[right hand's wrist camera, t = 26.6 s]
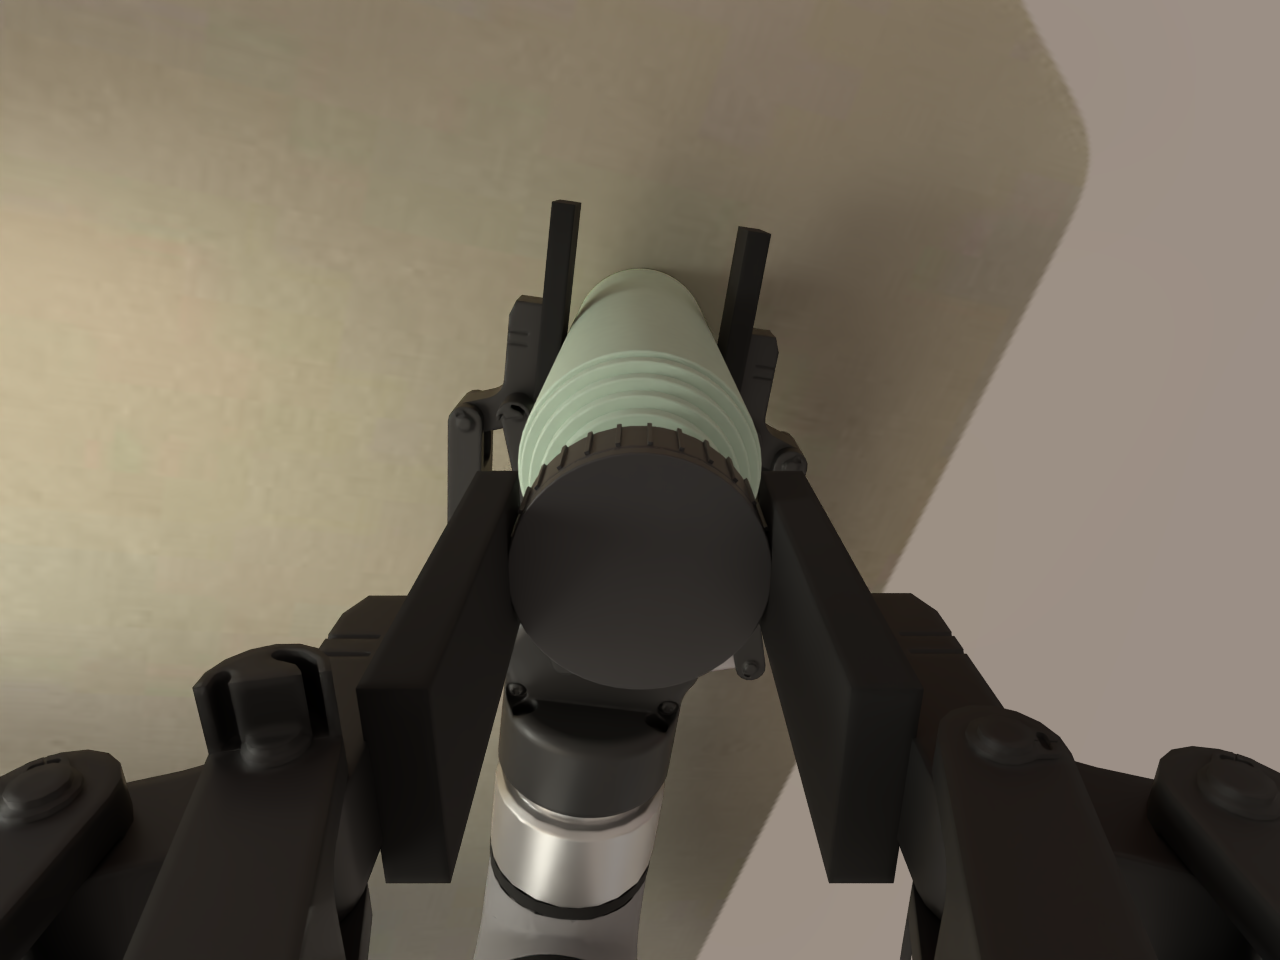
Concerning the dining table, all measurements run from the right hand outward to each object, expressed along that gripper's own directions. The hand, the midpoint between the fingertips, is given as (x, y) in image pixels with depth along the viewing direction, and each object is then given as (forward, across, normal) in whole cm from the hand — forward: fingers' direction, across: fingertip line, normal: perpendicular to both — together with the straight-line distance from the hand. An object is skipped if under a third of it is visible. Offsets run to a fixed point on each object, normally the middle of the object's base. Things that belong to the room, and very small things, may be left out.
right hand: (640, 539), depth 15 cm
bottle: (+21, 0, 0) cm, 21 cm away
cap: (-1, 0, 0) cm, 1 cm away
